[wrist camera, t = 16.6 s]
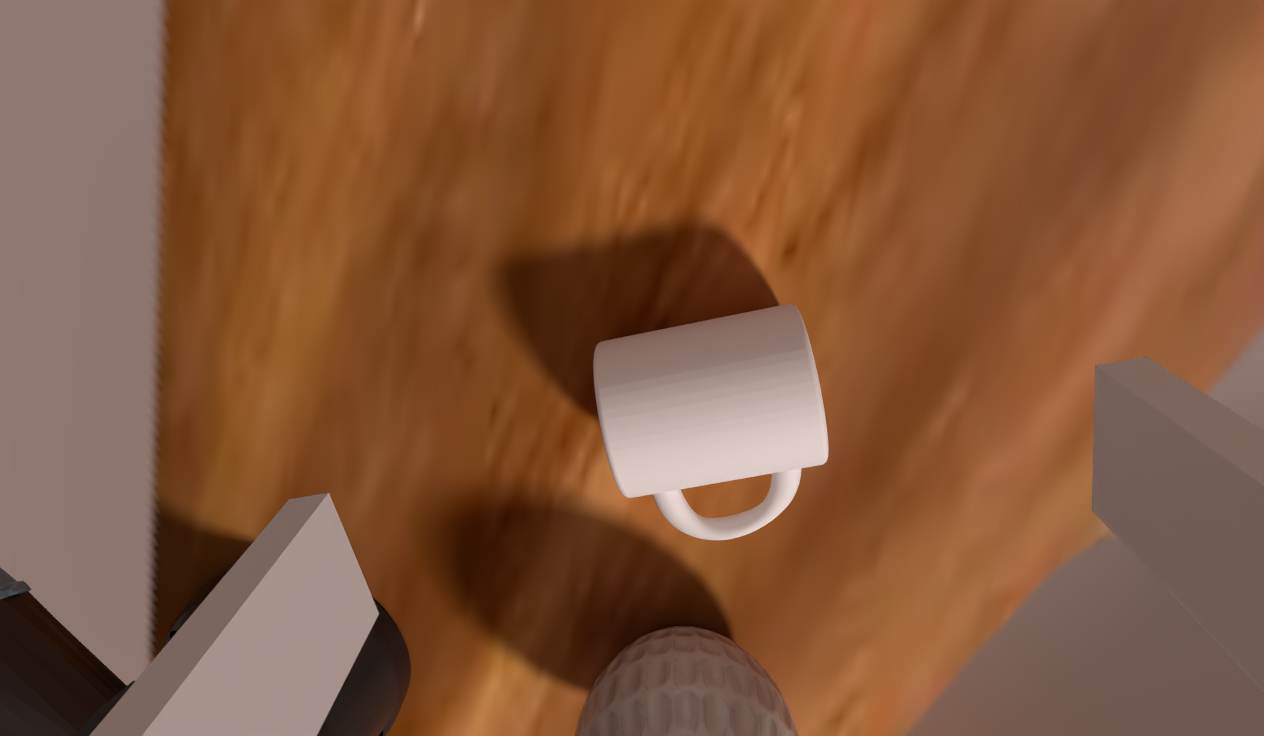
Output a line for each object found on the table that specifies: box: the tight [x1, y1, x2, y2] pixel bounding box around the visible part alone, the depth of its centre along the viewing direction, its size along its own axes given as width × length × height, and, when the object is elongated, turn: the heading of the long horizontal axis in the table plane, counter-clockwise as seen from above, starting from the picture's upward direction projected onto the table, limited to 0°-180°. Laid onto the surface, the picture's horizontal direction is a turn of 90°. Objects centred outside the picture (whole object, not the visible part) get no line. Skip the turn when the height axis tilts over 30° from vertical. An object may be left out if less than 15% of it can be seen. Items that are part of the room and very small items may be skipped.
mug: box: [593, 304, 828, 540], centre depth 38 cm, size 12×10×8 cm
